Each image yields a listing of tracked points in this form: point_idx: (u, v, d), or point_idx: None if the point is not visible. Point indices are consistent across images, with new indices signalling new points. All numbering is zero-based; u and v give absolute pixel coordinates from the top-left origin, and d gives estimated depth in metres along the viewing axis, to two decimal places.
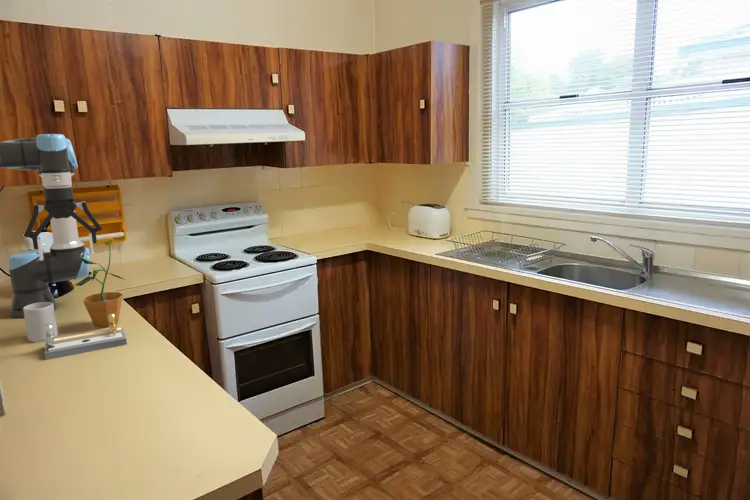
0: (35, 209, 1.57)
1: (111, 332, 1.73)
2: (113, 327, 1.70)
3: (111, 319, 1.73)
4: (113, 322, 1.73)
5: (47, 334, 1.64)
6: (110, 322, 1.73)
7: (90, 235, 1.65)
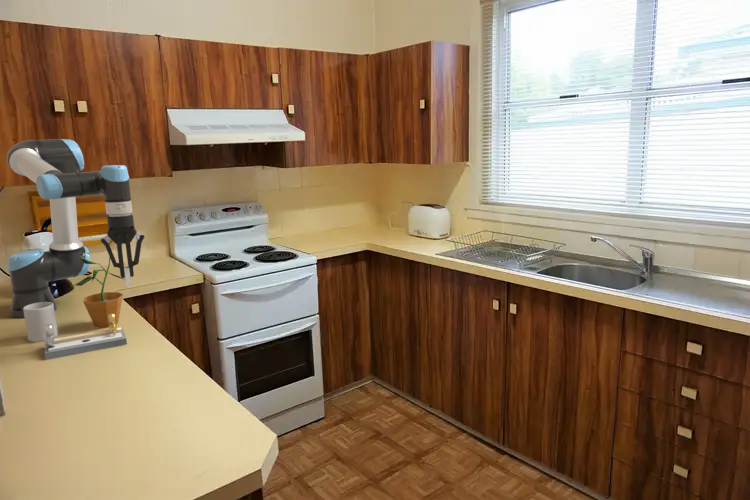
0: (104, 242, 1.68)
1: (111, 332, 1.73)
2: (113, 327, 1.70)
3: (111, 319, 1.73)
4: (113, 322, 1.73)
5: (47, 334, 1.64)
6: (110, 322, 1.73)
7: (128, 269, 1.72)
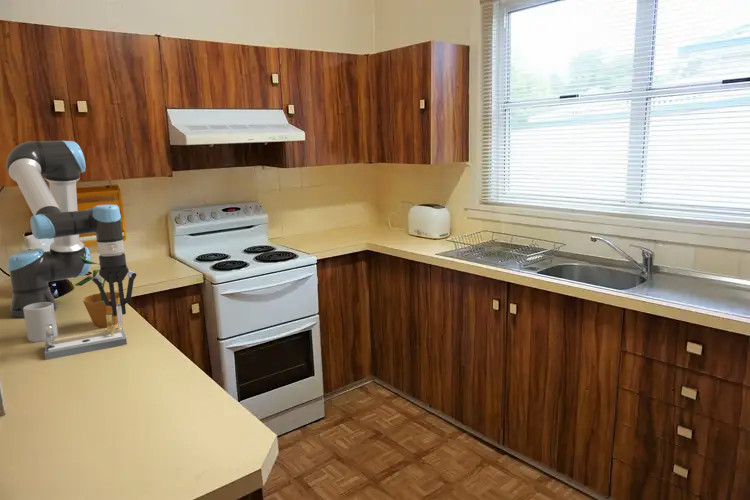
0: (96, 282, 1.68)
1: None
2: (111, 327, 1.70)
3: (109, 319, 1.72)
4: (111, 322, 1.73)
5: (47, 334, 1.64)
6: (108, 322, 1.72)
7: (120, 307, 1.73)
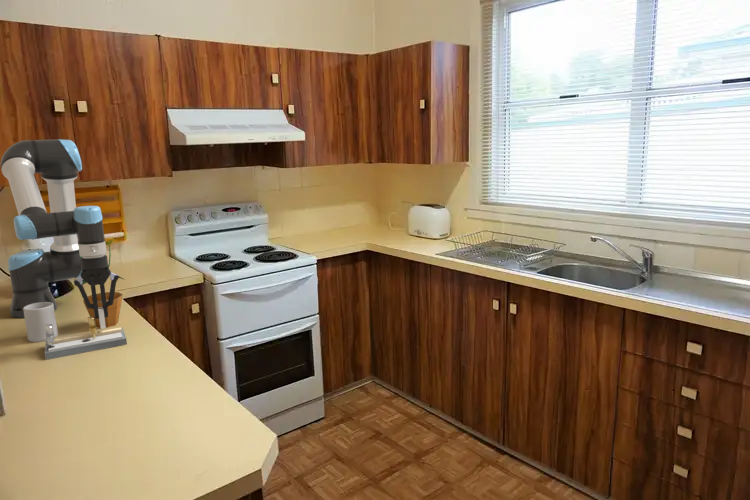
0: (77, 284, 1.66)
1: (111, 332, 1.73)
2: (93, 331, 1.67)
3: (91, 322, 1.70)
4: (93, 325, 1.70)
5: (47, 334, 1.64)
6: (90, 325, 1.70)
7: (102, 310, 1.71)
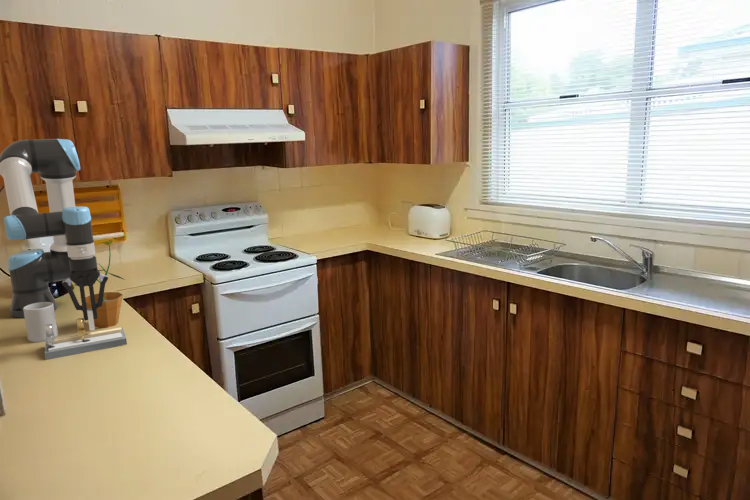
0: (65, 285, 1.64)
1: (111, 332, 1.73)
2: (81, 332, 1.66)
3: (80, 324, 1.68)
4: (82, 327, 1.69)
5: (47, 334, 1.64)
6: (79, 327, 1.68)
7: (91, 311, 1.69)
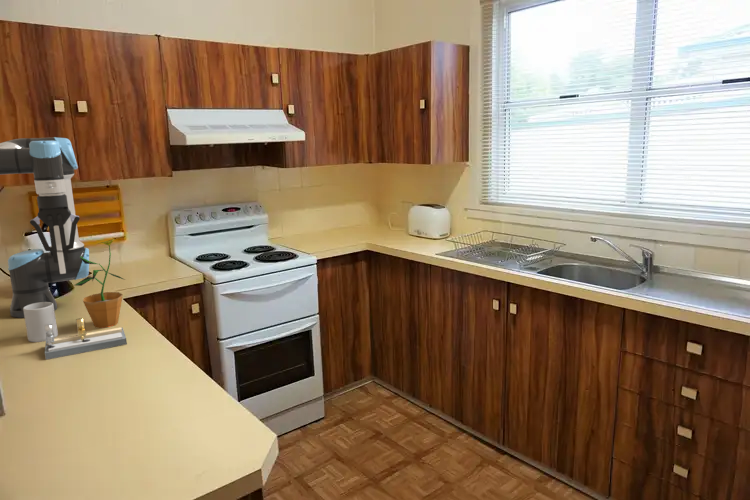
0: (33, 224, 1.55)
1: (111, 332, 1.73)
2: (81, 332, 1.66)
3: (80, 324, 1.68)
4: (82, 327, 1.69)
5: (47, 334, 1.64)
6: (79, 327, 1.68)
7: (61, 253, 1.60)
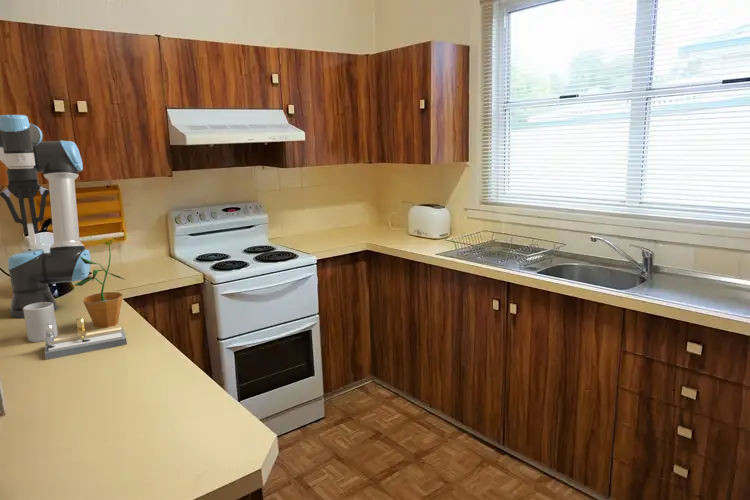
0: (3, 196, 1.60)
1: (111, 332, 1.73)
2: (81, 332, 1.66)
3: (80, 324, 1.68)
4: (82, 327, 1.69)
5: (47, 334, 1.64)
6: (79, 327, 1.68)
7: (31, 225, 1.65)
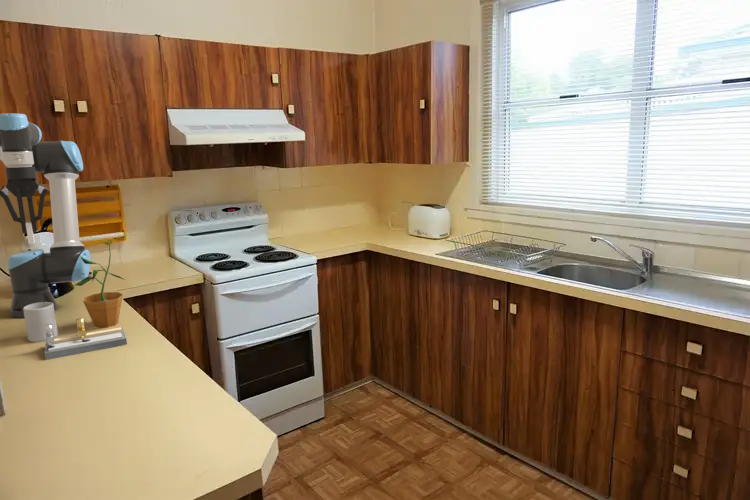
0: (2, 194, 1.60)
1: (111, 332, 1.73)
2: (81, 332, 1.66)
3: (80, 324, 1.68)
4: (82, 327, 1.69)
5: (47, 334, 1.64)
6: (79, 327, 1.68)
7: (30, 224, 1.65)
